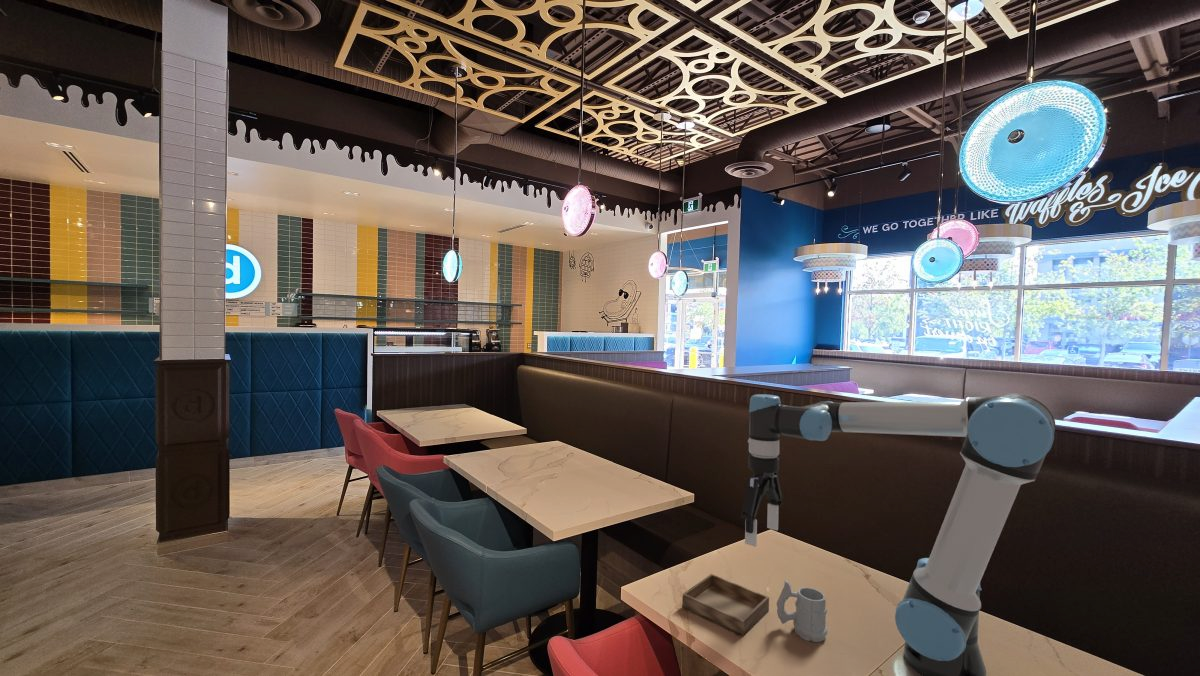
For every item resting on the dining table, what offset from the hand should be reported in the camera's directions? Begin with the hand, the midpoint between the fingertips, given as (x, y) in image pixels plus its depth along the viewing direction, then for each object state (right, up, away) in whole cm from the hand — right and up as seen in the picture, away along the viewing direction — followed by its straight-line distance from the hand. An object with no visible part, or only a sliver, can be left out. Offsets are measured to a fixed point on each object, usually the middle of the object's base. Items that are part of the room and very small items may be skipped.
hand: (762, 536), depth 127 cm
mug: (+8, -22, -5) cm, 24 cm away
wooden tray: (-9, -21, +3) cm, 23 cm away
